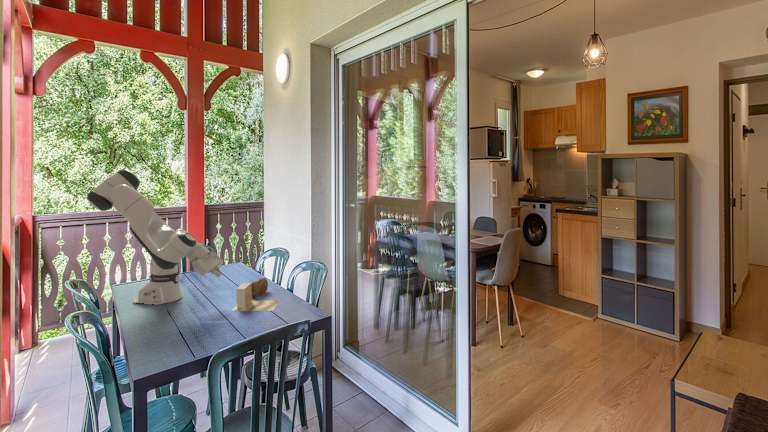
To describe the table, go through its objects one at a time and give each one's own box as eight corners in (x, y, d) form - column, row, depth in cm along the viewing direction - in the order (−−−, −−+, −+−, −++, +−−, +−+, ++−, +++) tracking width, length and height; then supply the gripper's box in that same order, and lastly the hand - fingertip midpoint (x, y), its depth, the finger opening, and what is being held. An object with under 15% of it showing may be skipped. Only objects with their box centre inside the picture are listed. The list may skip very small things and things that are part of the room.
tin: (254, 299, 198) (253, 284, 197) (248, 299, 199) (248, 283, 198) (268, 291, 213) (268, 276, 212) (263, 290, 213) (262, 276, 212)
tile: (237, 308, 182) (236, 288, 181) (243, 301, 192) (243, 282, 191) (245, 308, 183) (245, 288, 182) (252, 301, 193) (251, 282, 192)
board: (230, 312, 179) (230, 311, 179) (241, 301, 194) (241, 300, 194) (272, 311, 180) (272, 310, 180) (280, 301, 195) (280, 300, 195)
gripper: (194, 256, 173) (216, 276, 174) (212, 247, 193) (232, 266, 195) (184, 265, 173) (206, 286, 175) (204, 256, 194) (224, 274, 195)
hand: (220, 275), depth 185 cm, fingers closed
